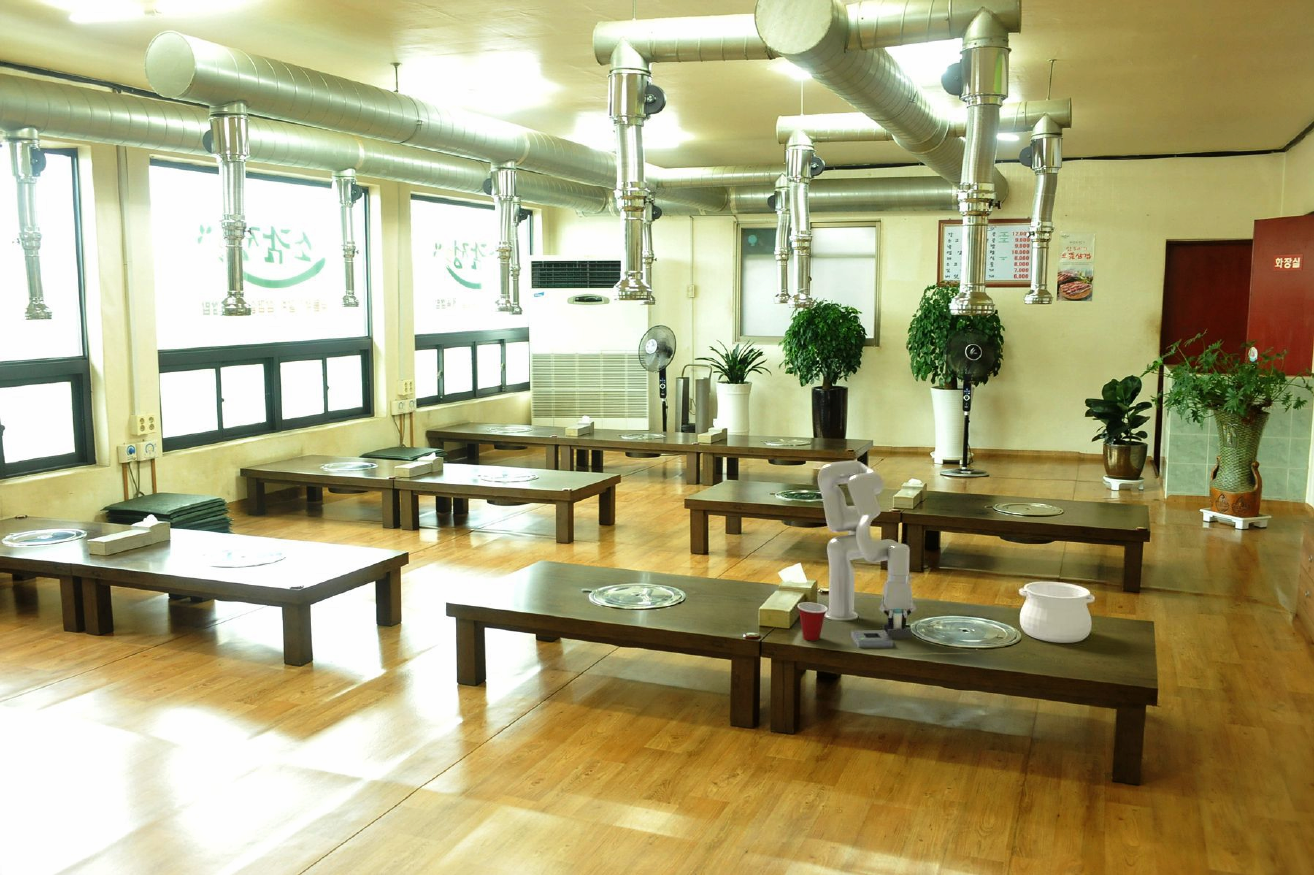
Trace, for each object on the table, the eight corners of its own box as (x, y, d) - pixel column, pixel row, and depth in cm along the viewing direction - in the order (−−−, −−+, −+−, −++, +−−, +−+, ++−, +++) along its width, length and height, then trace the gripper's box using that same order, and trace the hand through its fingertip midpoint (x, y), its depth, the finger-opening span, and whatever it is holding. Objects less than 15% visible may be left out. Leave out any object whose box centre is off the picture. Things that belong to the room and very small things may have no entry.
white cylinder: (890, 633, 380) (890, 603, 379) (900, 633, 381) (901, 603, 379) (892, 636, 377) (893, 606, 375) (902, 636, 377) (903, 606, 376)
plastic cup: (822, 644, 369) (823, 611, 368) (793, 640, 374) (793, 608, 373) (830, 636, 379) (831, 603, 378) (802, 632, 384) (802, 600, 382)
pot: (1013, 639, 375) (1015, 593, 373) (1021, 621, 397) (1023, 578, 395) (1090, 649, 364) (1093, 602, 362) (1094, 630, 386) (1096, 585, 384)
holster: (882, 633, 382) (883, 623, 382) (904, 632, 383) (904, 623, 382) (888, 640, 375) (888, 630, 374) (910, 639, 375) (910, 630, 374)
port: (851, 638, 376) (851, 629, 376) (884, 638, 376) (884, 629, 376) (858, 649, 364) (858, 640, 364) (892, 648, 365) (893, 639, 364)
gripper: (918, 575, 380) (916, 624, 382) (872, 575, 380) (871, 625, 382) (923, 580, 373) (922, 630, 375) (877, 581, 372) (876, 631, 374)
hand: (896, 627), depth 378 cm, fingers closed on white cylinder, 3 cm apart
